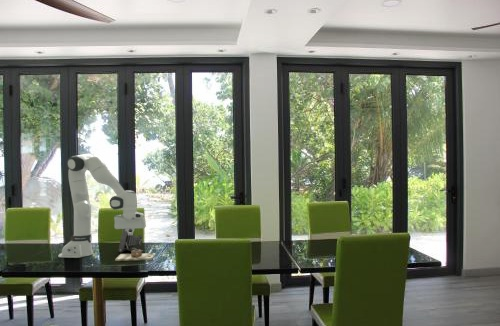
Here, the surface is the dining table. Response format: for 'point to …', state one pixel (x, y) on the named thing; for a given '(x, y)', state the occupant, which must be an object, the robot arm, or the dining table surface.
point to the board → (128, 257)
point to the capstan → (136, 253)
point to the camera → (129, 241)
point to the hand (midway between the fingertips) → (130, 235)
